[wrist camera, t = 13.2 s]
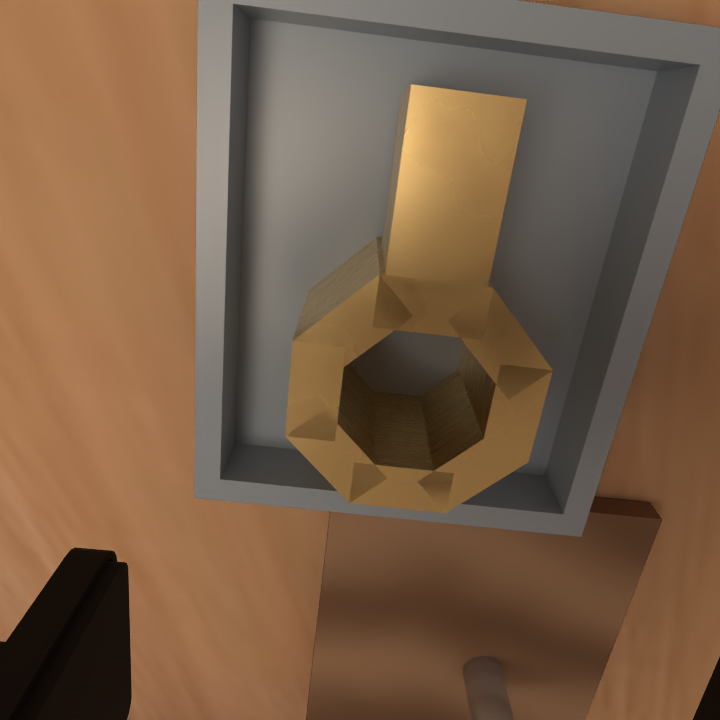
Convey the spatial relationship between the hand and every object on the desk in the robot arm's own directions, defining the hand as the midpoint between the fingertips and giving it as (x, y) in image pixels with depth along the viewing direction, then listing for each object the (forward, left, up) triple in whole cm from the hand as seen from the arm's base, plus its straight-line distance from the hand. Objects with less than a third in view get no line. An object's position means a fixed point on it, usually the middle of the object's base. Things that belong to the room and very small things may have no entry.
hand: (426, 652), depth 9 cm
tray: (+3, 0, -12) cm, 12 cm away
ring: (+3, 0, -11) cm, 12 cm away
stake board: (-11, -4, -12) cm, 17 cm away
